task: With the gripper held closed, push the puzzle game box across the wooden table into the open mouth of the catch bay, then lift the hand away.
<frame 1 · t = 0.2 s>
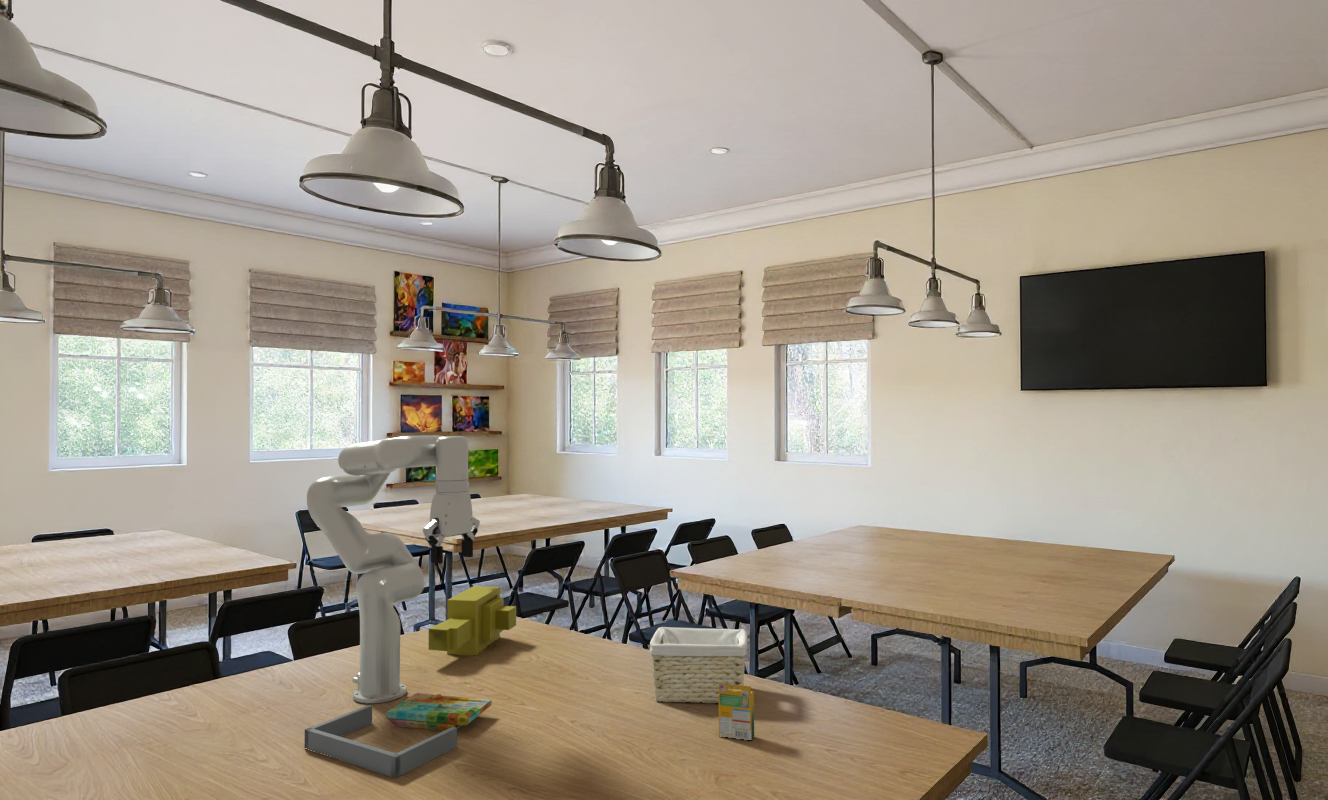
hand: (452, 559, 181), 36 cm above the table, tool pointing down, fingers open, 9 cm apart
catch bay: (383, 746, 161), on the table
crayon box: (736, 737, 165), on the table
toy blocks: (476, 652, 229), on the table
puzzle game: (439, 723, 174), on the table
storage basket: (700, 695, 192), on the table
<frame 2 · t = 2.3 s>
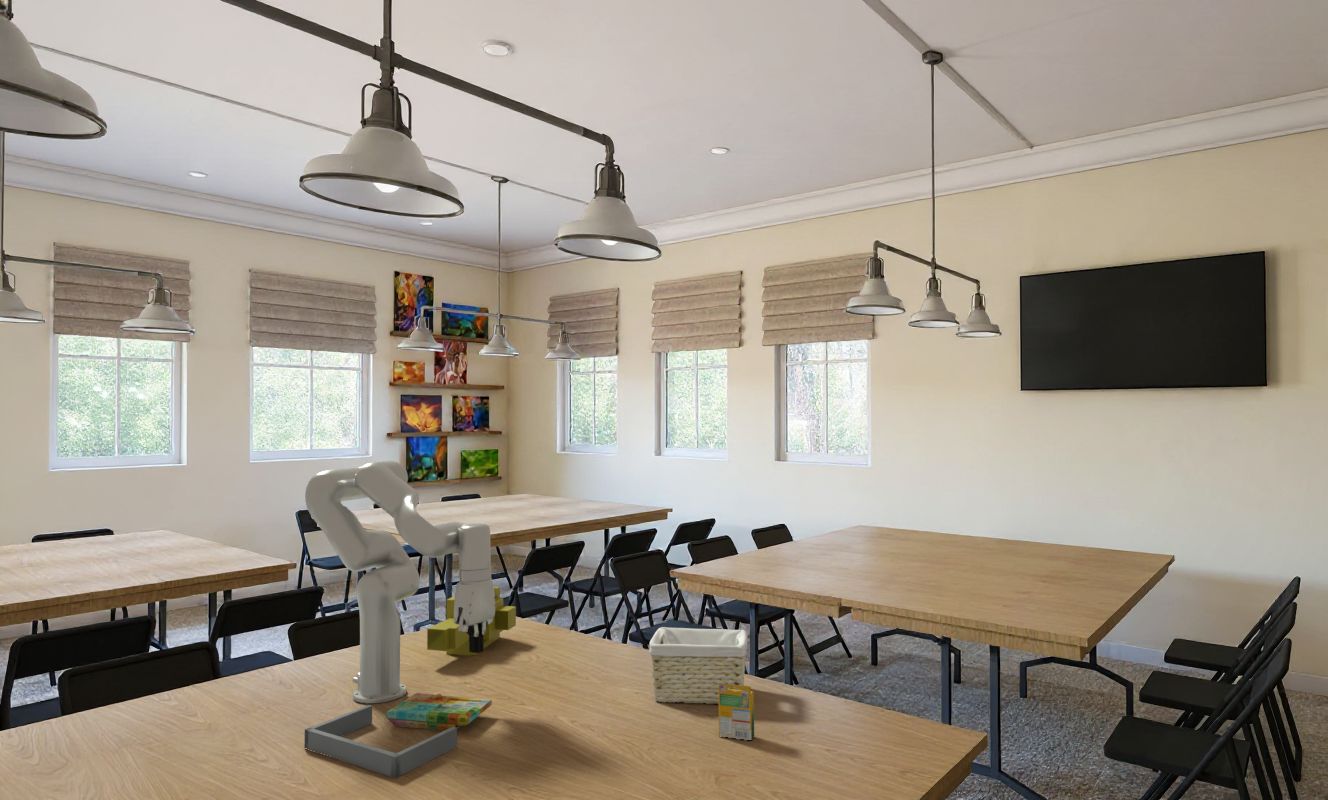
hand: (476, 651, 184), 13 cm above the table, tool pointing down, fingers closed
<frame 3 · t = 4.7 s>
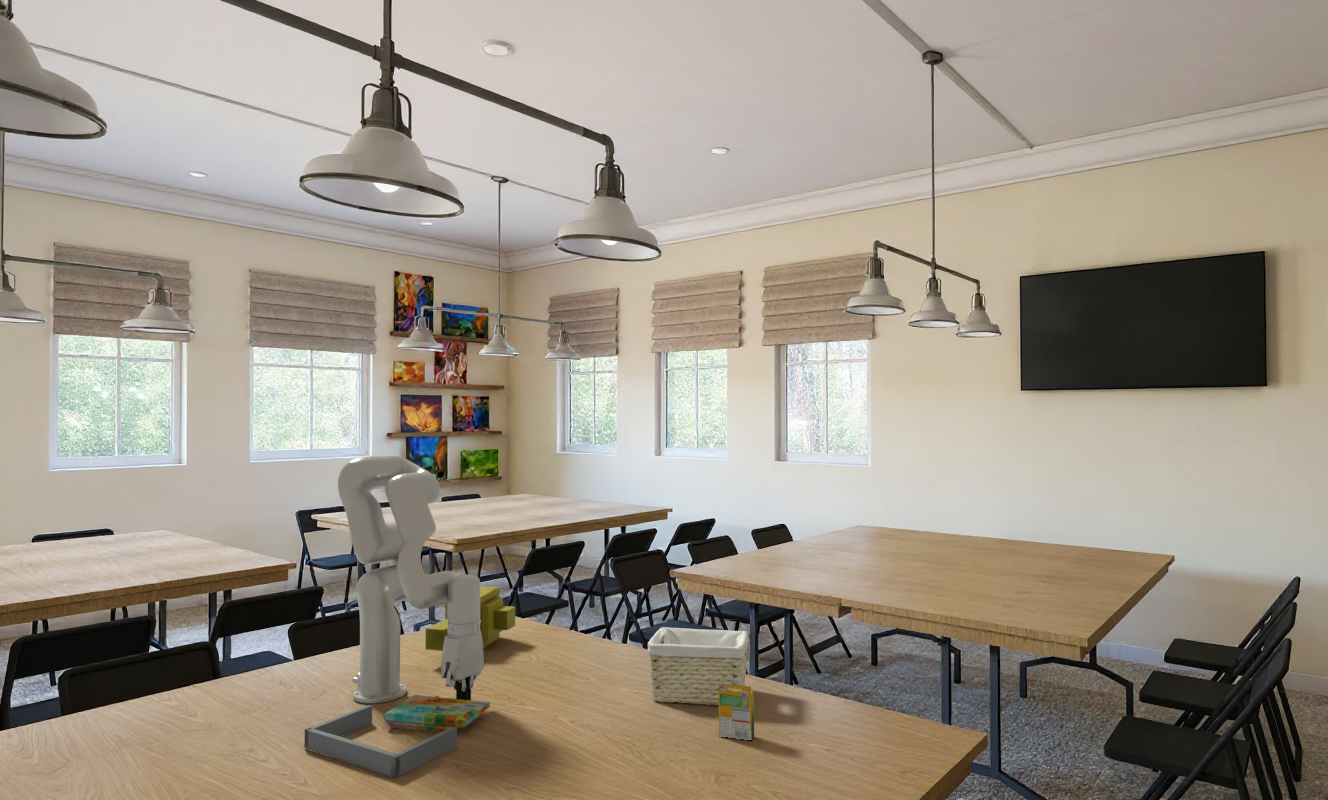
hand: (463, 705, 181), 1 cm above the table, tool pointing down, fingers closed
puzzle game: (437, 725, 174), on the table, touching gripper
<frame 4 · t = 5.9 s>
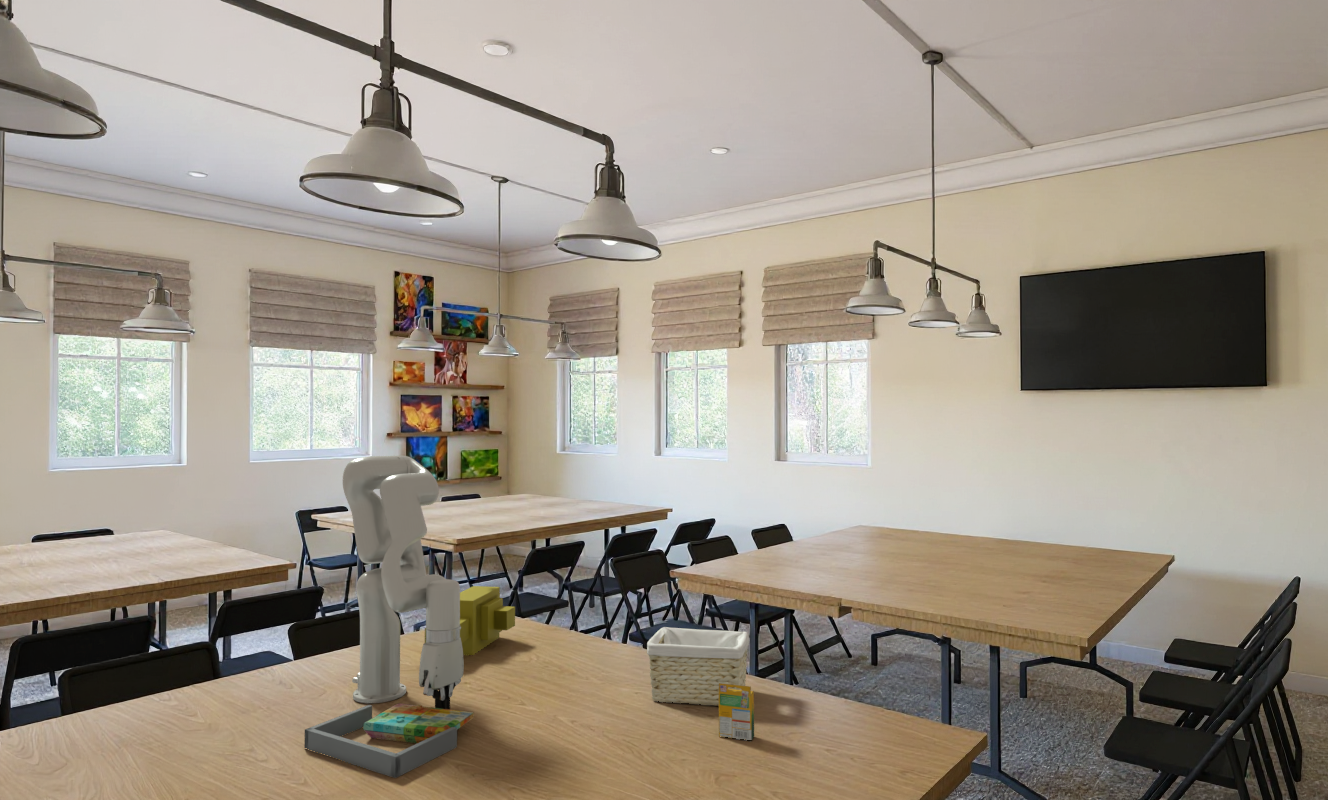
hand: (442, 715, 175), 1 cm above the table, tool pointing down, fingers closed
puzzle game: (419, 736, 167), on the table, touching gripper
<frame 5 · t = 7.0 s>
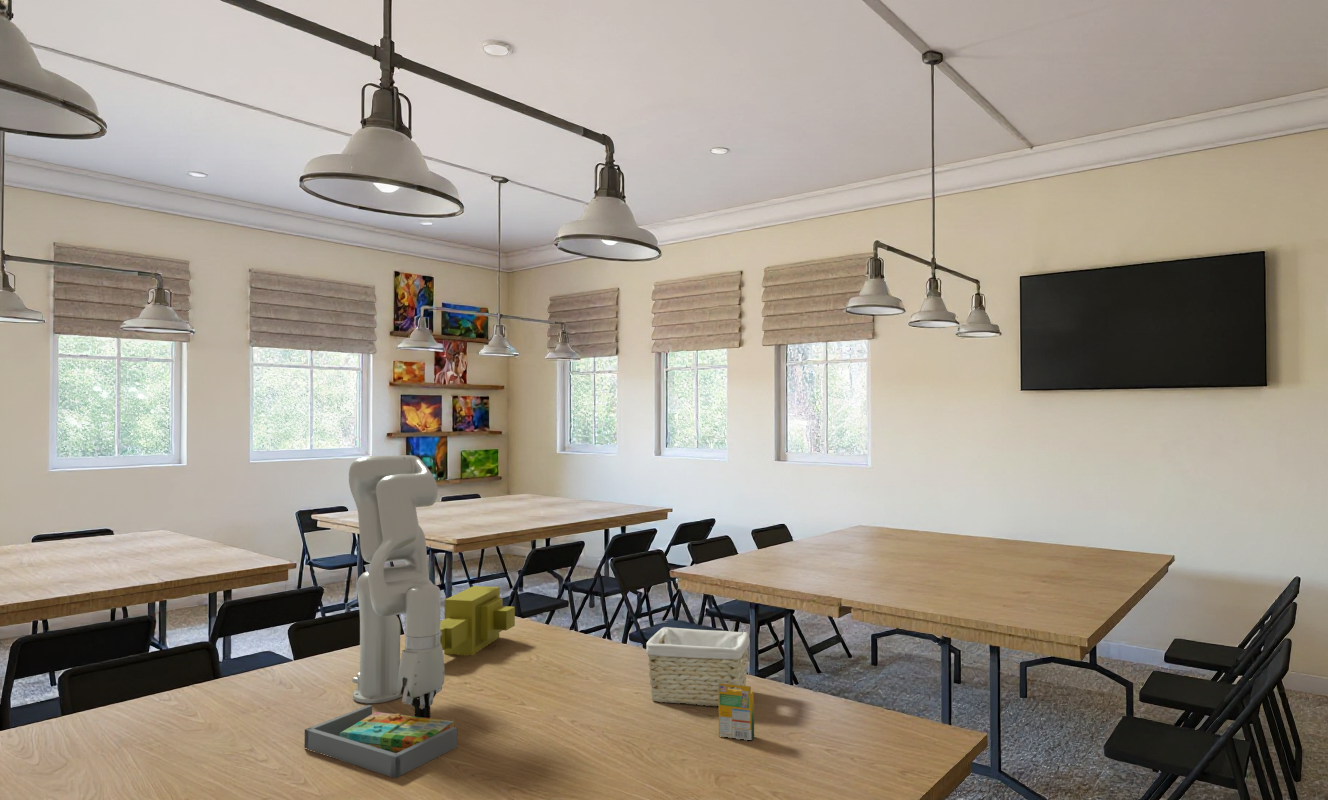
hand: (422, 724, 170), 1 cm above the table, tool pointing down, fingers closed
puzzle game: (397, 746, 162), on the table
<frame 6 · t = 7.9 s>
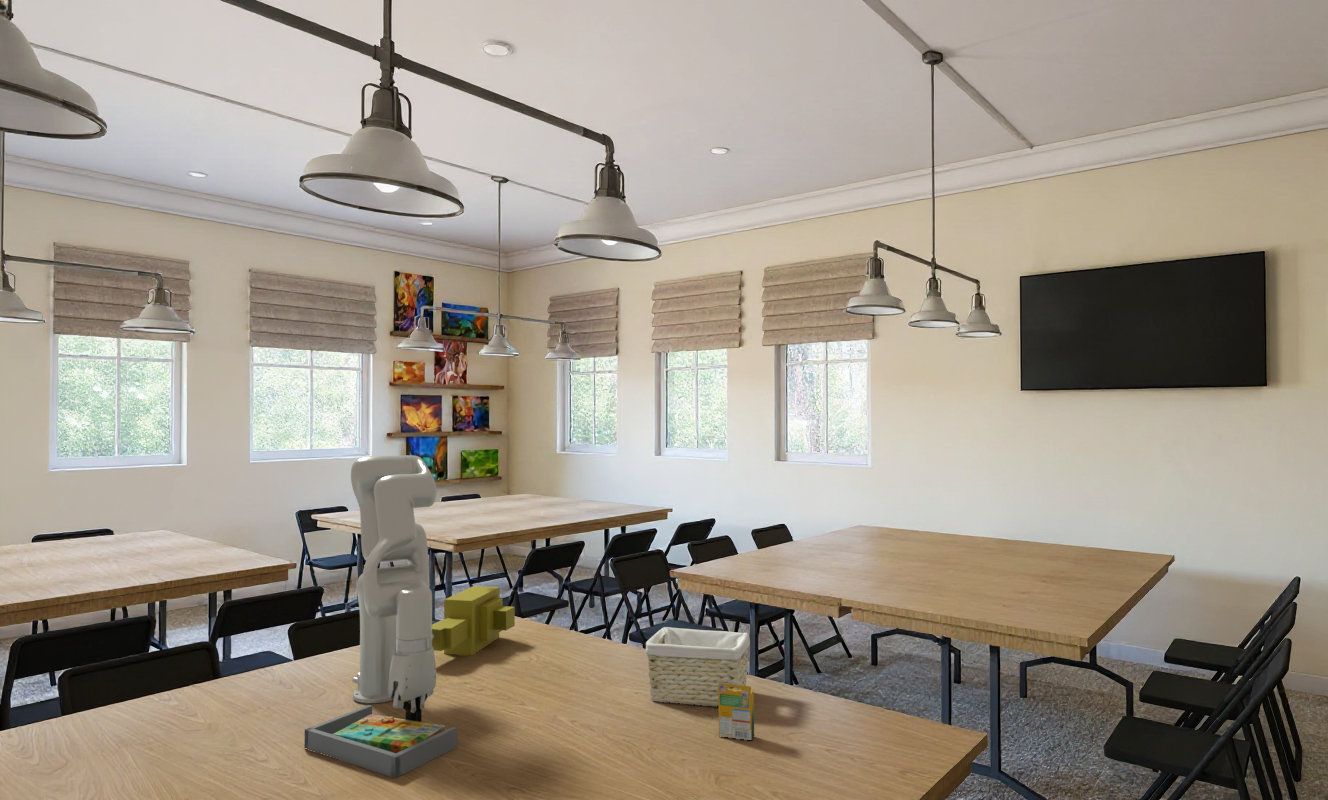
hand: (413, 728, 168), 1 cm above the table, tool pointing down, fingers closed
puzzle game: (388, 749, 160), on the table, touching catch bay, gripper
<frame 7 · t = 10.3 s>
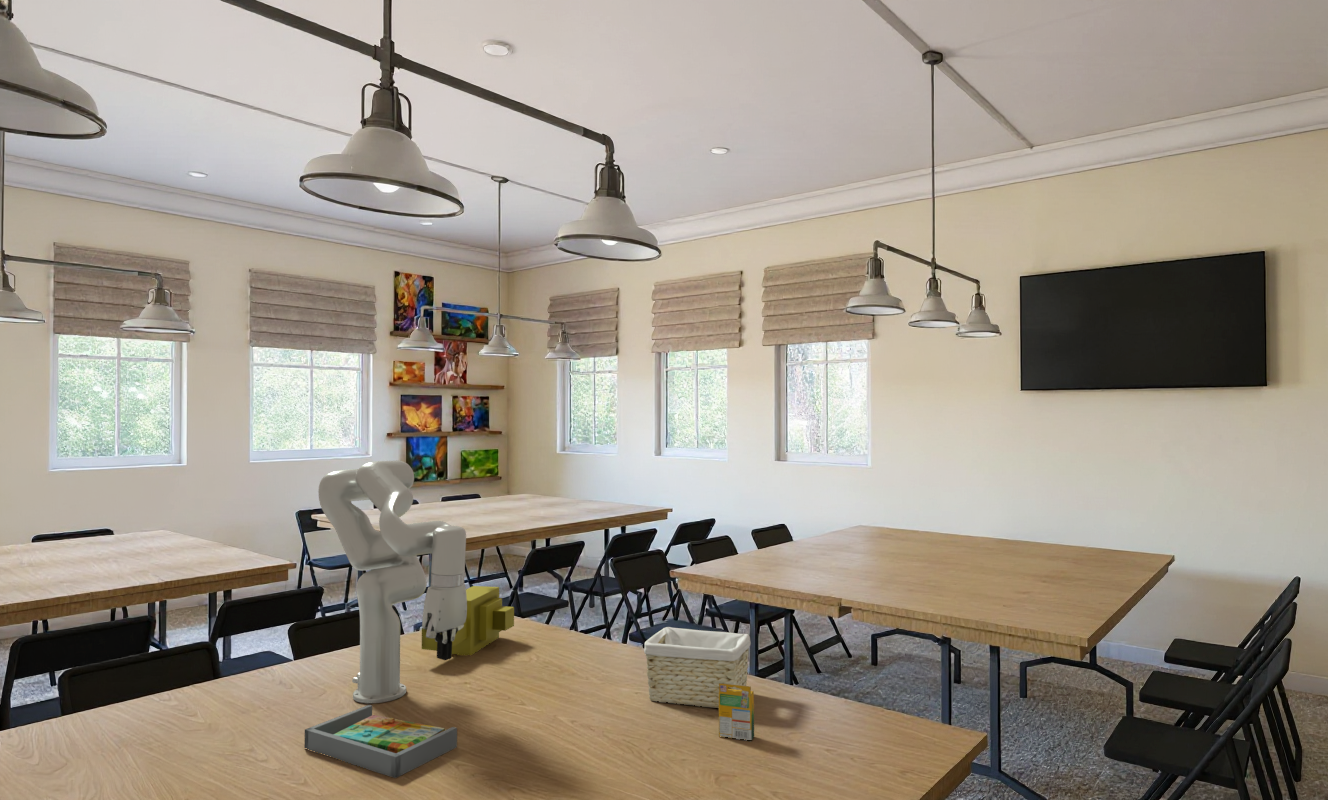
hand: (444, 658, 178), 13 cm above the table, tool pointing down, fingers closed
puzzle game: (388, 751, 160), on the table
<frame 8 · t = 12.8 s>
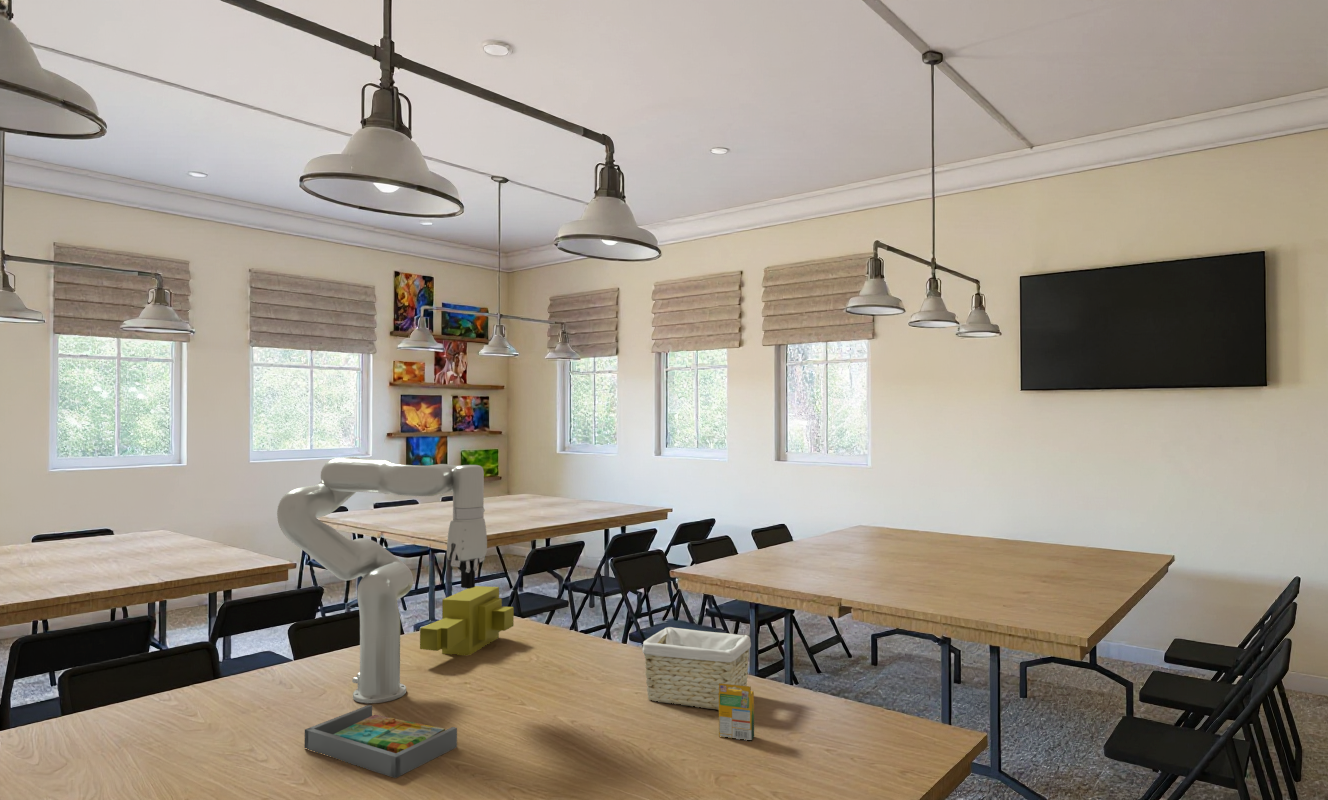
hand: (467, 587, 191), 27 cm above the table, tool pointing down, fingers closed
at the end: puzzle game inside the target area on the catch bay (2.1 cm from its centre), point -0.5 cm above the catch bay's base; puzzle game tilted 0°; puzzle game moved 16.2 cm from its start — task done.
